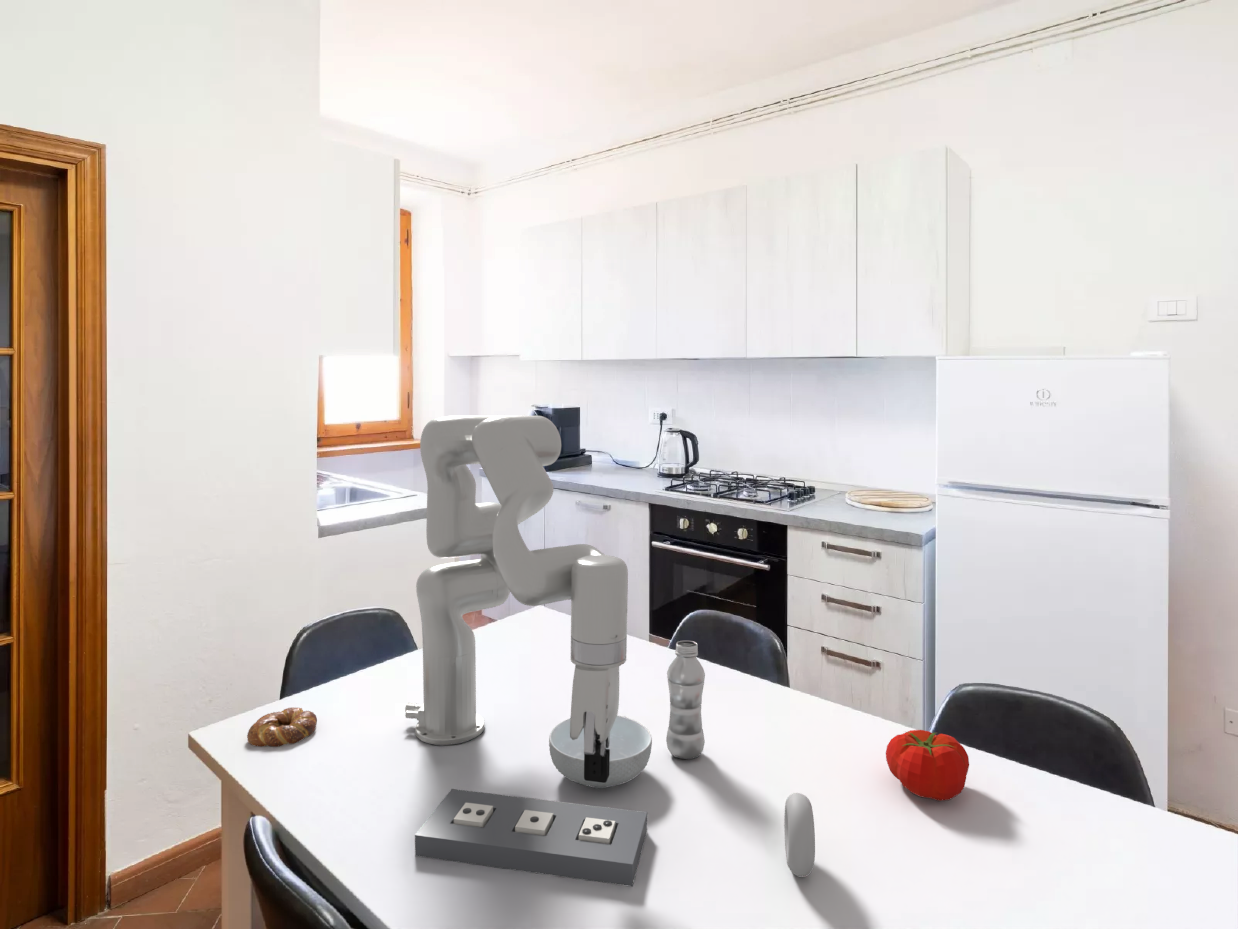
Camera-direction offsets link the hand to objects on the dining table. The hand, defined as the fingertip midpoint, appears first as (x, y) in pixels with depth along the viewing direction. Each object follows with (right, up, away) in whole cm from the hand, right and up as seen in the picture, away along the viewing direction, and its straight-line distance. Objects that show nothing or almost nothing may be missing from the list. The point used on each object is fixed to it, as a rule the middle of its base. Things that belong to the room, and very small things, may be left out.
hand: (596, 778), depth 99 cm
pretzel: (-59, -7, +35) cm, 69 cm away
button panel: (-9, -10, +3) cm, 14 cm away
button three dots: (0, -9, +1) cm, 9 cm away
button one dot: (-9, -9, +2) cm, 13 cm away
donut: (+27, -11, -2) cm, 29 cm away
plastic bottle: (+15, -8, +28) cm, 33 cm away
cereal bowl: (0, -9, +21) cm, 23 cm away
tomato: (+52, -10, +18) cm, 56 cm away
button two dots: (-18, -9, +4) cm, 20 cm away
